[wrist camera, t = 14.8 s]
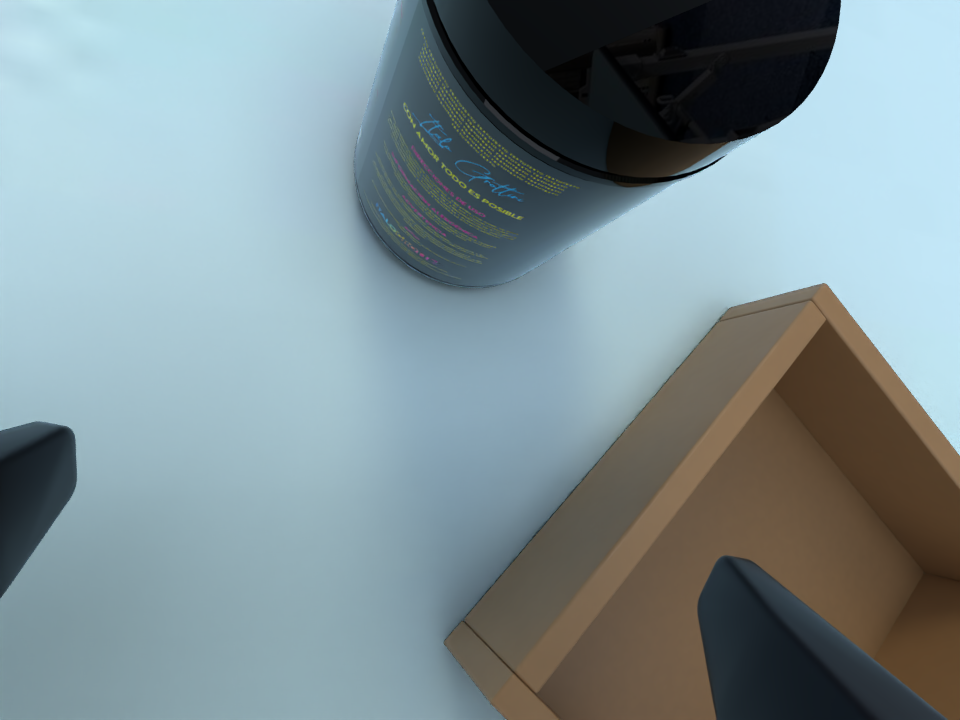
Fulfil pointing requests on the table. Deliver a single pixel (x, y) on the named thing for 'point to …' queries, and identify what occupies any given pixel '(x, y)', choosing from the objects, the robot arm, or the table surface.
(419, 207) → the supplement container
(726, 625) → the robot arm
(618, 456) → the storage box
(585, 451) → the table surface
